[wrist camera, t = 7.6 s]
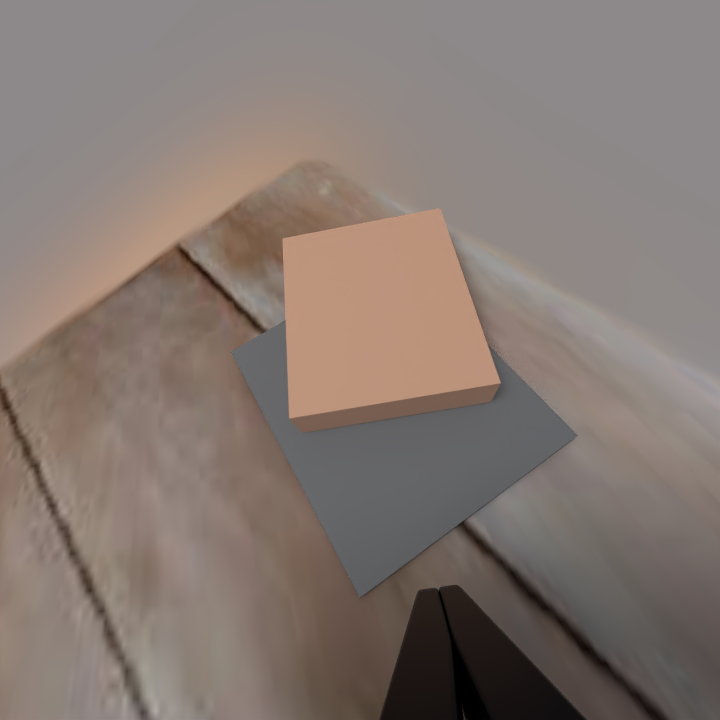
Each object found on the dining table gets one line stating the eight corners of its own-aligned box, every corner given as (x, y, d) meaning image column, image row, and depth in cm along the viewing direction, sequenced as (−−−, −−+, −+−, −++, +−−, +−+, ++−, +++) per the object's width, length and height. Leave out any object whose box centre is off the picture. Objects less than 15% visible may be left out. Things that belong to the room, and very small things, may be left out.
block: (500, 383, 17) (440, 208, 22) (289, 418, 17) (282, 238, 23) (490, 402, 19) (437, 238, 25) (302, 433, 19) (293, 265, 25)
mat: (574, 437, 18) (577, 435, 18) (360, 596, 16) (359, 597, 16) (398, 258, 25) (398, 254, 24) (233, 355, 23) (230, 352, 22)
